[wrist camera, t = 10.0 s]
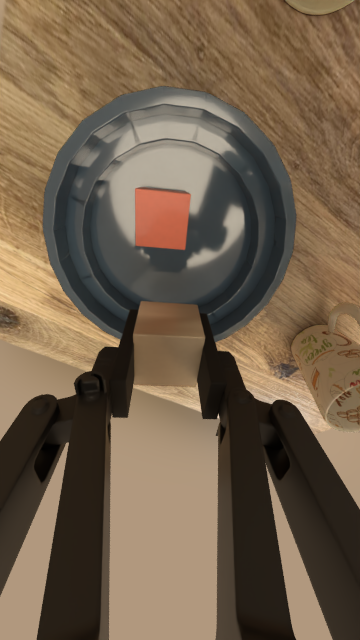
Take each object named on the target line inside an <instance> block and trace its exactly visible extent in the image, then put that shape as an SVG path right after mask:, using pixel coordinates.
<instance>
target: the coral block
mask: <svg viewBox="0 0 360 640" xmlns="http://www.w3.org/2000/svg"><path fill="white" fill-rule="evenodd" d="M190 198H191V194H189V193H188V192H184V191H175V190H165V189H156V188H146V187H139V188H135V232H136V246H145V247H157V248H169V249H180V250H185V246H186V237H187V227H188V217H189V208H190Z"/></svg>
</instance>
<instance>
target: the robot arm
mask: <svg viewBox="0 0 360 640" xmlns="http://www.w3.org/2000/svg"><path fill="white" fill-rule="evenodd" d="M138 311H139V310H136V309H130V310H129V314H128V317H127V320H126V324H125V327H124V330H123V334H122V337H121V341H120V344H119V347H104V348H103V349H102V350H101V351H100V352H99V354H98V356H97V359H96V361H95V364H94V366H93V369H92V371H89V372H85V373H83V374H82V375H80V376H79V377H78V378H77V379H76V380H75V382H74V386H75V390H76V395H74V396H71V397H68V398H63V399H58V400H57V399H56V398H55V397H54V396H53V395H49V394H46V395H40V396H37V397H35V398H33V399H31V400H30V401H29V402H28V403H27V404H26V405H25V406H24V407H23V409H22V410H21V412H20V413H19V415H18V416H17V418H16V419H15V421H14V422H13V423H12V425H11V426H10V428H9V429H8V431H7V432H6V434H5V435H4V436H3V438H2V439H1V441H0V595H1V593H2V591H3V588H4V586H5V584H6V581H7V579H8V577H9V574H10V572H11V570H12V567H13V565H14V563H15V561H16V558H17V556H18V553H19V551H20V549H21V547H22V544H23V542H24V540H25V537H26V535H27V533H28V530H29V528H30V526H31V523H32V521H33V519H34V516H35V514H36V512H37V509H38V507H39V505H40V502H41V500H42V497H43V495H44V493H45V491H46V488H47V486H48V484H49V481H50V479H51V477H52V474H53V472H54V470H55V467H56V465H57V463H58V461H59V458H60V456H61V453H62V451H63V449H64V447H65V444H66V443H67V442H69V446H68V452H67V458H66V465H65V470H64V477H63V483H62V489H61V495H60V501H59V507H58V513H57V519H56V525H55V531H54V537H53V543H52V549H51V556H50V562H49V568H48V574H47V580H46V586H45V592H44V598H43V604H42V611H41V616H40V622H39V628H38V635H37V640H109V557H110V556H109V555H110V554H109V553H110V454H111V453H110V452H111V423H110V419H111V415H113V417H119V418H120V417H121V418H127V417H128V413H129V407H130V400H131V395H132V389H133V383H134V343H133V332H134V328H135V324H136V319H137V315H138ZM199 314H200V318H201V322H202V327H203V331H204V335H205V342H204V346H203V351H202V356H201V361H200V367H199V372H198V377H197V383H198V389H199V396H200V403H201V410H202V417H203V419H217V416H218V413H219V417H220V423H219V426H218V430H217V433H216V436H218V542H217V545H218V546H217V550H218V551H217V631H216V640H296V638H295V636H294V633H293V629H292V624H291V619H290V613H289V607H288V601H287V595H286V588H285V582H284V576H283V570H282V564H281V557H280V551H279V545H278V539H277V532H276V526H275V520H274V514H273V508H272V501H271V495H270V489H269V483H268V477H267V471H266V465H267V468H268V471H269V473H270V476H271V478H272V481H273V484H274V486H275V489H276V491H277V494H278V497H279V499H280V502H281V505H282V508H283V510H284V512H285V515H286V518H287V521H288V523H289V526H290V529H291V531H292V534H293V536H294V539H295V542H296V544H297V547H298V549H299V552H300V555H301V557H302V560H303V563H304V565H305V568H306V571H307V573H308V576H309V578H310V581H311V584H312V586H313V589H314V591H315V594H316V597H317V600H318V602H319V605H320V607H321V610H322V613H323V615H324V618H325V621H326V623H327V626H328V628H329V631H330V634H331V636H332V639H333V640H360V509H359V508H358V506H357V504H356V503H355V501H354V499H353V498H352V496H351V494H350V493H349V491H348V490H347V488H346V486H345V485H344V483H343V481H342V480H341V478H340V476H339V475H338V474H337V472H336V470H335V468H334V467H333V465H332V463H331V462H330V460H329V458H328V457H327V455H326V454H325V452H324V450H323V449H322V447H321V445H320V444H319V442H318V440H317V439H316V437H315V436H314V434H313V432H312V431H311V429H310V427H309V426H308V424H307V422H306V421H305V419H304V418H303V416H302V414H301V413H300V411H299V410H298V409H297V407H296V406H295V405H293V404H292V403H290V402H288V401H286V400H276V401H274V402H273V404H269V403H265V402H262V401H259V400H257V399H255V398H254V396H253V395H252V394H251V393H250V392H249V391H248V390H246V388H245V385H244V383H243V380H242V377H241V374H240V372H239V370H238V366H237V365H236V361H235V358H234V357H233V356H232V354H231V353H230V352H226V351H217V347H216V344H215V340H214V337H213V333H212V330H211V327H210V323H209V320H208V316H207V314H205V313H199ZM265 463H266V464H265Z"/></svg>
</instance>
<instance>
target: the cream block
mask: <svg viewBox="0 0 360 640" xmlns="http://www.w3.org/2000/svg"><path fill="white" fill-rule="evenodd" d="M204 342H205V335H204V331H203V327H202V322H201V318H200V314H199V309H198V305H194V304H179V303H163V302H148V301H141V302H140V306H139V311H138V315H137V319H136V324H135V328H134V332H133V343H134V385H151V386H181V387H196V384H197V377H198V372H199V367H200V361H201V356H202V351H203V346H204Z"/></svg>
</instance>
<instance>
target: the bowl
mask: <svg viewBox="0 0 360 640" xmlns="http://www.w3.org/2000/svg"><path fill="white" fill-rule="evenodd" d="M139 187H146V188H156V189H165V190H175V191H184V192H188V193H189V194H191V198H190V208H189V217H188V227H187V237H186V246H185V250H180V249H169V248H157V247H145V246H136V232H135V188H139ZM295 228H296V209H295V203H294V197H293V191H292V185H291V180H290V177H289V175H288V173H287V171H286V169H285V167H284V165H283V162H282V160H281V158H280V156H279V154H278V152H277V150H276V148H275V145H273V143H272V142H271V140H270V139H269V138H268V137H267V136H266V135H265V134H264V133H263V132H262V131H261V130H260V129H259V127H258V126H257V125H256V124H255V123H254V122H253V121H252V120H251V119H250V118H249V117H248V115H247V114H245V113H244V112H243V111H241V110H239V109H237V108H235V107H234V106H232V105H230V104H228V103H226V102H224V101H223V100H221V99H219V98H217V97H215V96H213V95H211V94H210V93H207V92H203V91H196V90H190V89H183V88H176V87H169V86H159V87H155V88H150V89H146V90H141V91H137V92H132V93H128V94H124V95H120V96H118V97H117V98H115V99H114V100H112V101H111V102H109V103H108V104H106V105H105V106H103V107H102V108H100V109H99V110H97V111H96V112H94V113H93V114H91V115H89V116H88V117H86V118H85V119H84V120H82V122H81V123H80V124H79V126H78V127H77V128H76V129H75V131H74V132H73V133H72V135H71V136H70V137H69V139H68V140H67V141H66V143H65V144H64V145H63V147H62V148H61V149H60V151H59V152H58V154H57V156H56V159H55V162H54V165H53V168H52V171H51V174H50V176H49V179H48V182H47V185H46V188H45V192H44V210H43V232H44V237H45V242H46V247H47V251H48V256H49V261H50V264H51V266H52V268H53V270H54V272H55V275H56V277H57V279H58V281H59V283H60V285H61V287H62V289H63V291H64V292H65V294H66V295H67V296H68V297H69V298H70V300H71V301H72V302H73V303H74V305H75V306H76V307H77V308H78V309H79V311H80V312H81V313H82V314H83V315H84V316H85V317H86V318H88V319H89V320H90V321H92V322H93V323H94V324H95V325H97V326H98V327H99V328H100V329H102V330H103V331H104V332H106V333H108V334H110V335H112V336H114V337H116V338H118V339H120V340H121V337H122V334H123V330H124V327H125V324H126V320H127V317H128V314H129V310H130V309H136V310H139V306H140V302H141V301H148V302H163V303H179V304H194V305H198V309H199V313H205V314H207V316H208V320H209V323H210V327H211V330H212V333H213V337H214V340H215V342H217V341H220V340H222V339H225V338H227V337H228V336H230V335H232V334H233V333H235V332H236V331H238V330H239V329H241V328H243V327H244V326H246V325H247V324H248V323H249V322H250V321H251V320H252V319H253V318H254V317H255V316H256V315H257V314H258V313H259V312H260V311H261V310H262V309H263V308H264V307H265V306H266V305H267V304H268V303H269V301H270V299H271V298H272V296H273V295H274V293H275V292H276V290H277V288H278V287H279V285H280V284H281V282H282V280H283V278H284V276H285V273H286V270H287V267H288V264H289V261H290V258H291V256H292V253H293V248H294V238H295Z"/></svg>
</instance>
